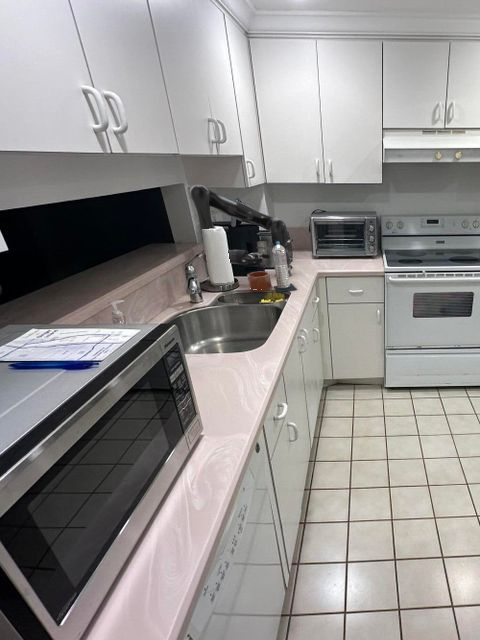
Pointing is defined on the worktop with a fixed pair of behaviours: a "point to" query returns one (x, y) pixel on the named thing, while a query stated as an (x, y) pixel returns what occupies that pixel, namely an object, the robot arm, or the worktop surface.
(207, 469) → the worktop surface
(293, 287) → the dish mat
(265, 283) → the pot
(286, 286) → the water bottle
